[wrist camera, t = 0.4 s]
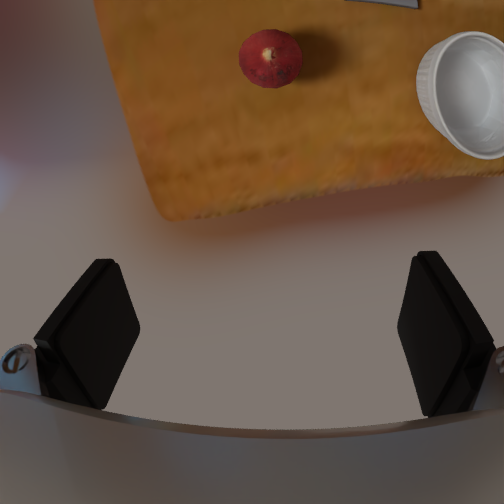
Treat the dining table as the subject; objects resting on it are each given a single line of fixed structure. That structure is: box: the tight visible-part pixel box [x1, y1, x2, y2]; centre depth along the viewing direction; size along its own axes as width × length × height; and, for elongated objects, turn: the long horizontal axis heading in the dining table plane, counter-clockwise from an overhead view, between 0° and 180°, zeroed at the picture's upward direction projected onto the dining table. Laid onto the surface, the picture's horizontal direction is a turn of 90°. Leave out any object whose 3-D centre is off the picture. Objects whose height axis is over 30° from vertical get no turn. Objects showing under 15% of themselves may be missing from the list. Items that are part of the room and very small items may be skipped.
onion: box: [239, 29, 303, 88], centre depth 25 cm, size 6×6×8 cm
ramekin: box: [416, 31, 504, 159], centre depth 25 cm, size 13×13×7 cm
